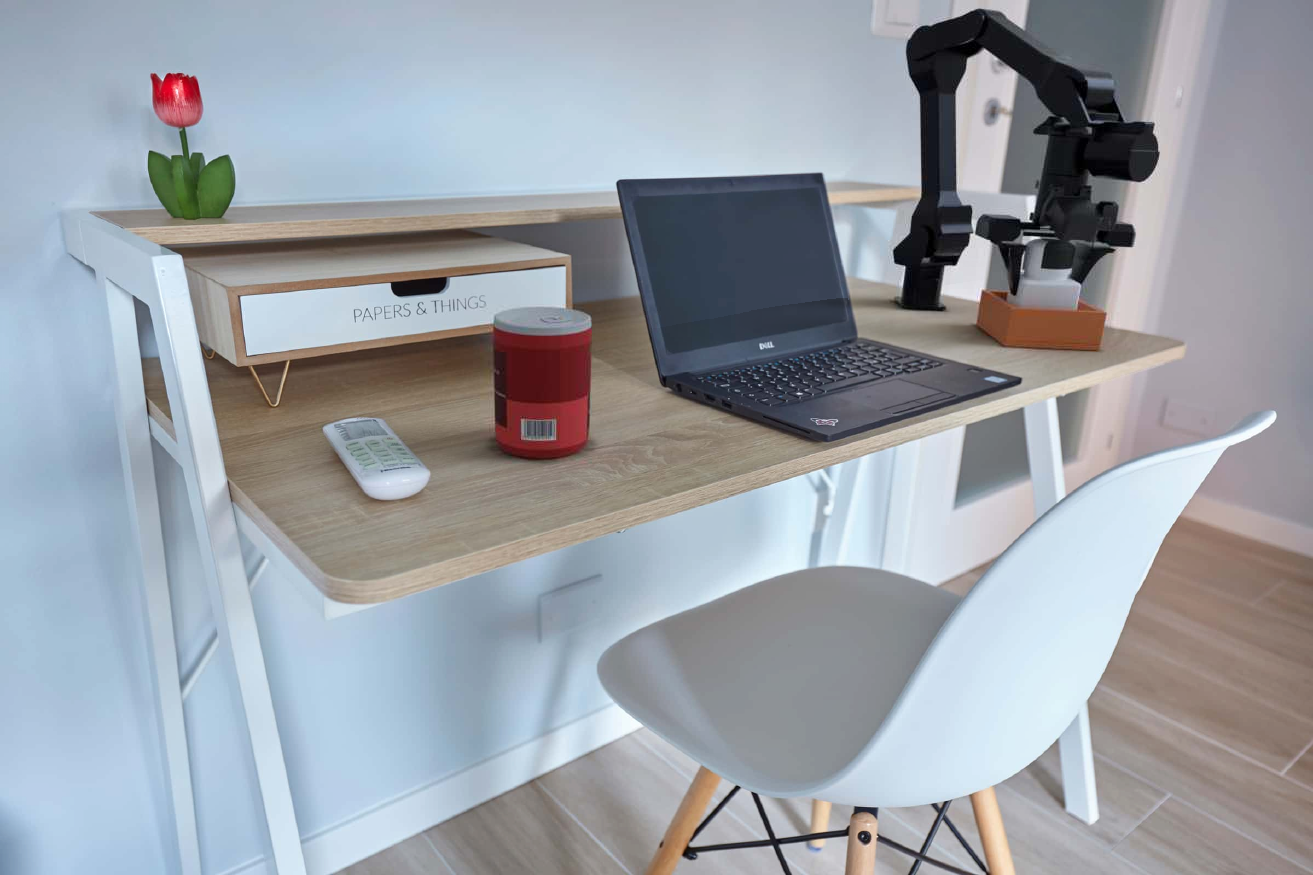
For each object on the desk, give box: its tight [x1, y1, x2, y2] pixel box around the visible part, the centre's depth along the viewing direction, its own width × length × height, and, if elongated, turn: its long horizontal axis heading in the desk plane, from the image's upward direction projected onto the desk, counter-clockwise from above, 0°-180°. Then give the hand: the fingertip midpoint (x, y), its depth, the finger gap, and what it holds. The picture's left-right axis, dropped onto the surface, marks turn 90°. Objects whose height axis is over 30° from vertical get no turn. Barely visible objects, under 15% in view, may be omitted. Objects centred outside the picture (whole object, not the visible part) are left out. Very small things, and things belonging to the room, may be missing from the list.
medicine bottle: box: [1006, 238, 1082, 310], centre depth 123 cm, size 7×7×12 cm
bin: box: [975, 289, 1108, 352], centre depth 124 cm, size 12×12×5 cm
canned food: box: [492, 306, 593, 460], centre depth 77 cm, size 8×8×11 cm
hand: (1041, 296), depth 123 cm, fingers closed on medicine bottle, 7 cm apart
